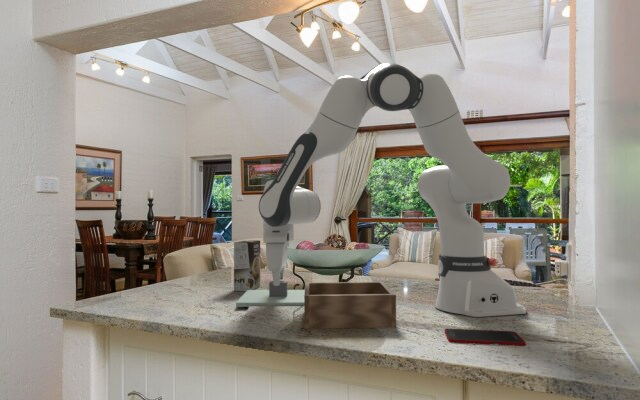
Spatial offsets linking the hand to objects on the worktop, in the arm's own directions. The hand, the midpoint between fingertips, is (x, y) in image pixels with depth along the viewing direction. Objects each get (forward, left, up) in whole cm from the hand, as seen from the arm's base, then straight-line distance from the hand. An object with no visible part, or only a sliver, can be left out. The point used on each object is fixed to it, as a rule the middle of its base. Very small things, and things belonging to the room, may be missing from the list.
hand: (278, 282), depth 119 cm
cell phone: (-45, +35, -6) cm, 57 cm away
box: (-18, +22, -6) cm, 29 cm away
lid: (0, 0, -5) cm, 5 cm away
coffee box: (+12, -20, -6) cm, 24 cm away
